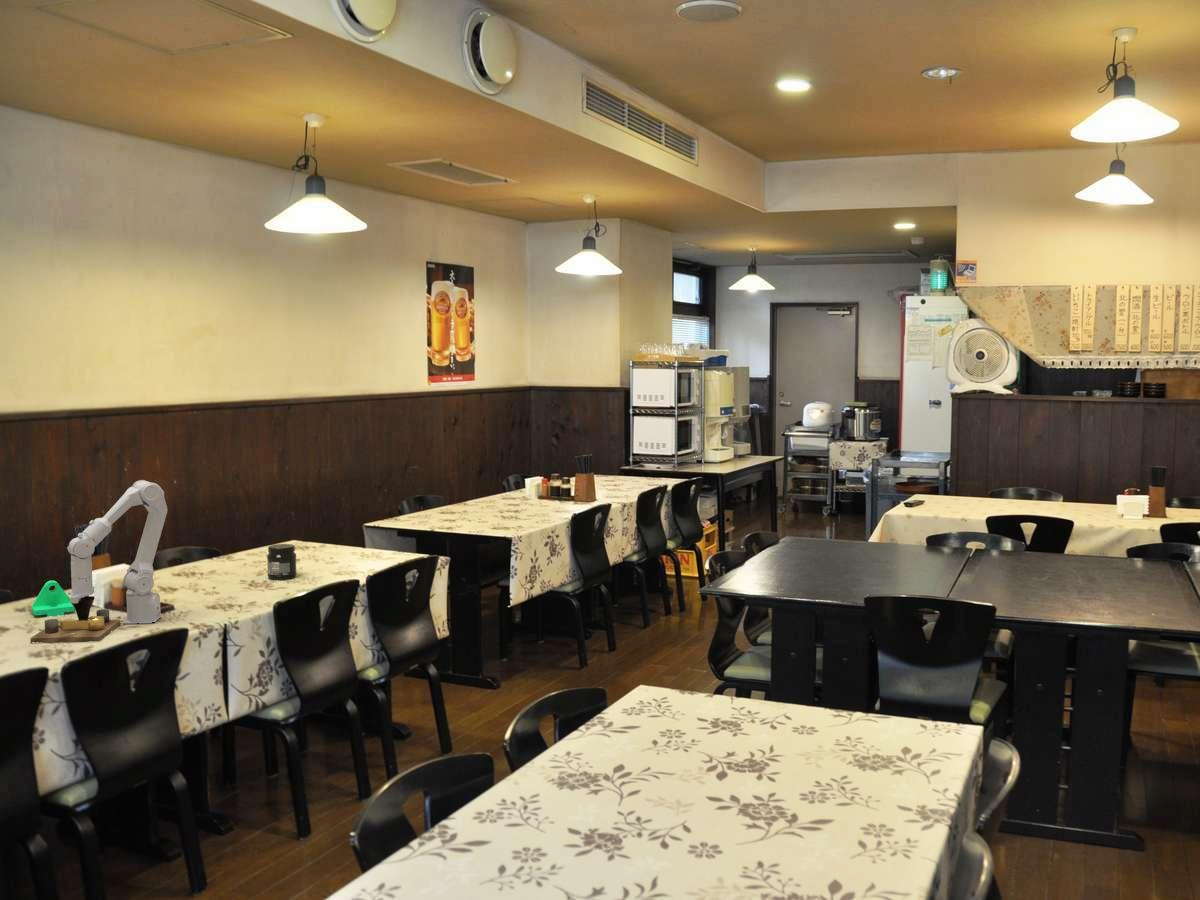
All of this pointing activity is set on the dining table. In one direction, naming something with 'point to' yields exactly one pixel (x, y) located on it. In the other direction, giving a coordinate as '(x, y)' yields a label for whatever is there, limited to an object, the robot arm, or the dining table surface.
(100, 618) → the brass lever handle
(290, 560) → the supplement container
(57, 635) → the levelling base
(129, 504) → the robot arm
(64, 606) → the green triangular bracket
